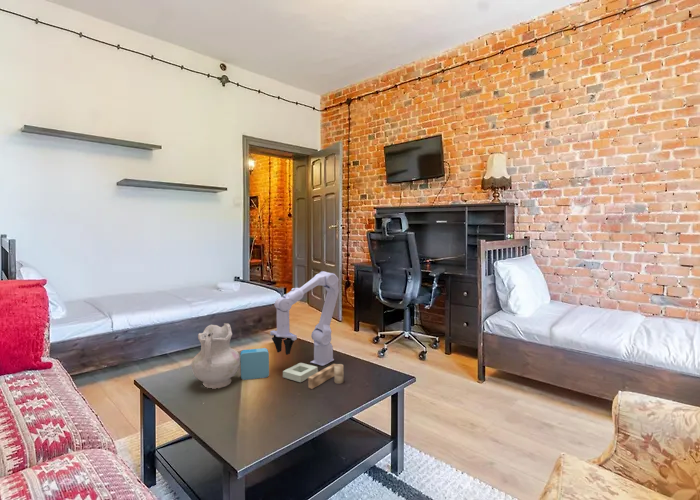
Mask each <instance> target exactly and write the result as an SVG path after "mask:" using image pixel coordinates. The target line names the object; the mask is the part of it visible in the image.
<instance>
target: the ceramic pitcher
mask: <svg viewBox="0 0 700 500" xmlns="http://www.w3.org/2000/svg"><path fill="white" fill-rule="evenodd" d="M231 326H232V325H231V324H230V323H226V322H224V323H223V325H222V326H219V325H217V324H209V325H207V326H206V327H205V328H204V330H203V332H199V333H198V334H197V339H198V341H199V343H200V346H201V347H200V351H198V353H196V355H195V356H194V357H193V358H192V361H191V363H190V365H191V366H190V367H191V371H192V373H193V375H194V377H195V378H196V379H198V381H201V382H202V384H203V385H204V386H205V387H207V388H206V389H208V388H212V390H213V389H215V390H216V388H218V389H221V388H224V387H227V386H230V384H232V383H231V382H232V377H234V376H235V375H236V374H237V373H238V371H239V368H240V367H241V365H240V353H239V352H238V351H237V350H235V349H234V348H232V347H231V346H230V345H231V338H232V336H233V331H232V328H231ZM203 385H202V386H203ZM204 386H203V387H204ZM205 387H204V388H205Z"/></svg>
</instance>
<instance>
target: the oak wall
mask: <svg viewBox="0 0 700 500" xmlns="http://www.w3.org/2000/svg"><path fill="white" fill-rule="evenodd" d="M336 364H337V363H332V364H331V365H328V366H327V367H325V368H323V369H321V370H320V371H319V370H318V372H317V373H315V374H314V375H312V376H310V377H308V379H307V380H308V381H307V382H308V383H307V385H308V387H307V388H308V389H311V390H314V388H316V387H319V386H320V385H321V384H324V383H326V381H328V380H329V381H330V380H331V379H333V378H334V365H336Z"/></svg>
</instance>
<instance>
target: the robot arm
mask: <svg viewBox="0 0 700 500" xmlns="http://www.w3.org/2000/svg"><path fill="white" fill-rule="evenodd" d="M339 281H340V280H339V277H338V276H337V275H336V274H335V272H328V271H325V270H324V271H323V270H321V271H320V272H319V273H317V274H315V275H314V276H313V277H312V278H311V279H310V280H308V281H307V282H306V283H305V284H303V285H302V286H300V287H293V288H291V290H290V291H288V292H287V293H285V294H283V296H278V298H277V299H275V302H274V303H273V305H274V307H275V309H276V330H274V329H273V330H270V331H269V336H271V340H272V341H273V344H274V346H275V349H276V353H280V352H282V350H283V349H282V345H283V344H284V349H285V350H284V352H285V355H287V356H288V355H290V354H291V351H292V347H293V344H294V343H295V341H296V340H297V339H298V338H297V337H298V336H297V334H294V333H292V332H290V326H291V325H290V310H291V308H292V306H293V305H294V304H296V303H297V302H299V301H301V300H302V299H303V298H304V295H305V294H306V293H308V292H310V291H311V290H313V289H315V288H316V287H317V286H322V287H323V288H324V289H325V290H326V295H325V298H324V299H325V300H324V302H323V307H322V309H321V313H320V317H319V321H318V323H317V324H316V325H315V327H314V329H313V330H312V332H311V339H312V341H313V360H310V362H309V363H310V364H314V365H319V366H322V367H324V366H325V365H327V364H329V363H331V362H333V361H335V358H334V352H333V351H334V348H333V345H332V343H331V341H332V333H333V332H332V329H331V323H332V319H333V315H334V313H335V312H334V311H335V307H336V304H337V300H338V296H339V293H340V288H339ZM272 336H273V337H272ZM283 338H284V340H283ZM282 343H283V344H282Z"/></svg>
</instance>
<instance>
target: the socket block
mask: <svg viewBox="0 0 700 500" xmlns="http://www.w3.org/2000/svg"><path fill="white" fill-rule="evenodd" d="M317 372H319V370H318V366H315V365H312V364H307V363H304V362H299V363H297V364H294V365H293V366H291V367H288V368H285V370H282V378H285V379H287V380H291V381H293V382H294V381H295V382H297V383H302V382H304V381H306V380H308V377H310V376H312V375H314V374H315V373H317Z"/></svg>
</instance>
